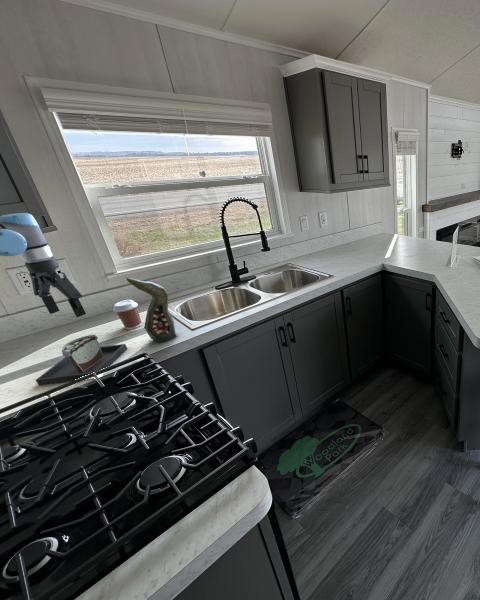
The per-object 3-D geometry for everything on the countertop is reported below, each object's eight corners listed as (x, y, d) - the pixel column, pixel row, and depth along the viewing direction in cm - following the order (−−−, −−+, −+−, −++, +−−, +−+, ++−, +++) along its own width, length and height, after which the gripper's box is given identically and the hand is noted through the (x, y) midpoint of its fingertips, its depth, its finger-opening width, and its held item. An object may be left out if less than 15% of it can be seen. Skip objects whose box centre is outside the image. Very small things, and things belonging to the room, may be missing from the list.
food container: (92, 355, 132) (80, 334, 128) (106, 355, 132) (96, 334, 127) (63, 375, 121) (50, 352, 116) (79, 374, 121) (66, 352, 116)
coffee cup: (122, 332, 149) (111, 309, 144) (121, 325, 155) (110, 302, 150) (146, 325, 154) (136, 302, 149) (144, 319, 161) (134, 296, 156)
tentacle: (147, 340, 142) (119, 276, 129) (178, 328, 151) (154, 267, 138) (155, 346, 137) (127, 280, 124) (186, 334, 146) (163, 271, 133)
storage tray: (96, 378, 119) (93, 373, 118) (38, 385, 116) (35, 380, 115) (127, 348, 136) (125, 343, 135) (77, 354, 134) (75, 349, 133)
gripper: (77, 257, 113) (103, 312, 122) (27, 254, 119) (55, 306, 128) (52, 264, 106) (81, 321, 115) (0, 261, 112) (32, 315, 121)
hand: (68, 313), depth 122 cm, fingers open, 13 cm apart
